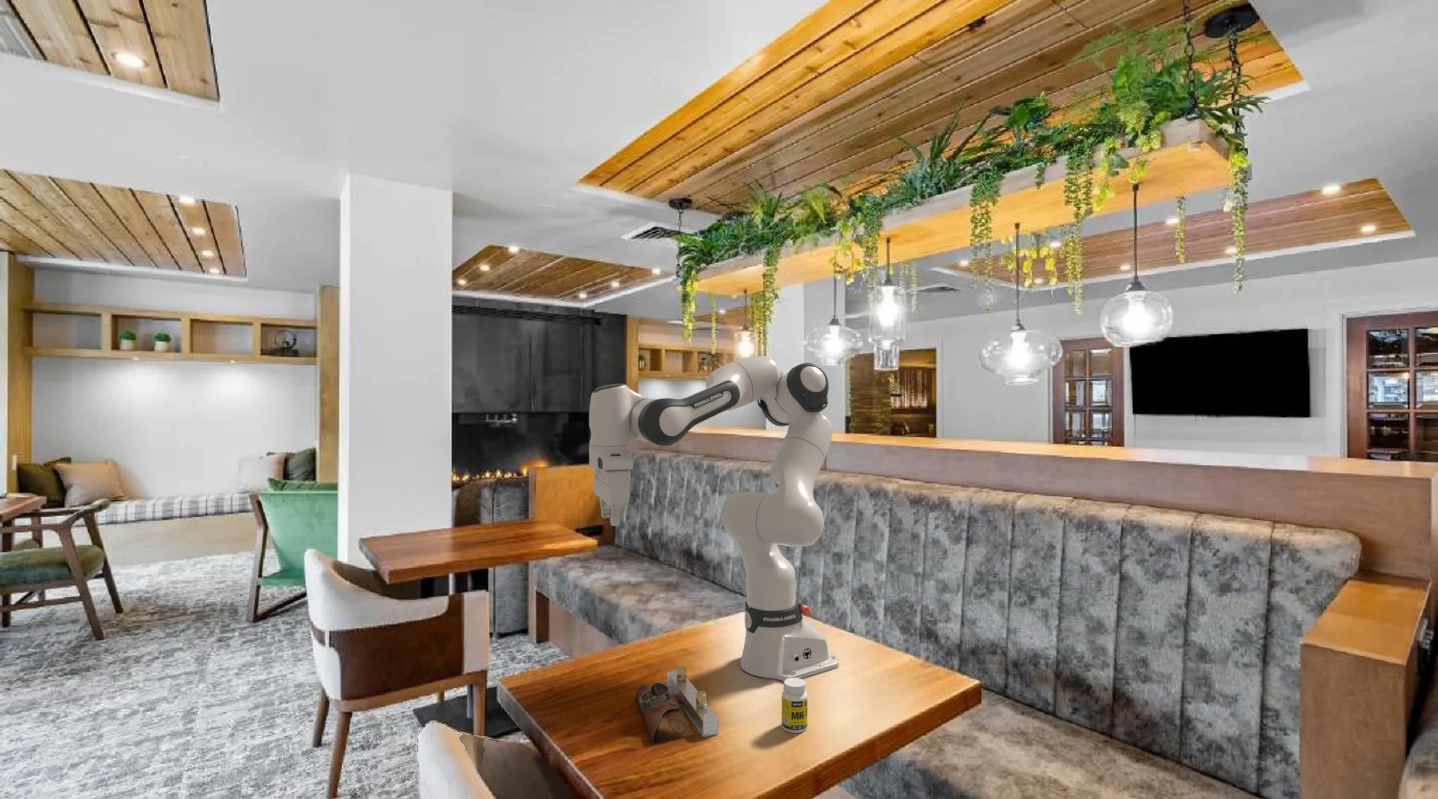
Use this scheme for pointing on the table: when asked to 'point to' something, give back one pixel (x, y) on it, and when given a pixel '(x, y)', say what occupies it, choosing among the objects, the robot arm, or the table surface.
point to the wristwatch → (655, 690)
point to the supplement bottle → (794, 705)
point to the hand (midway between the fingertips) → (610, 521)
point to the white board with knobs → (693, 702)
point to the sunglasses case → (665, 720)
